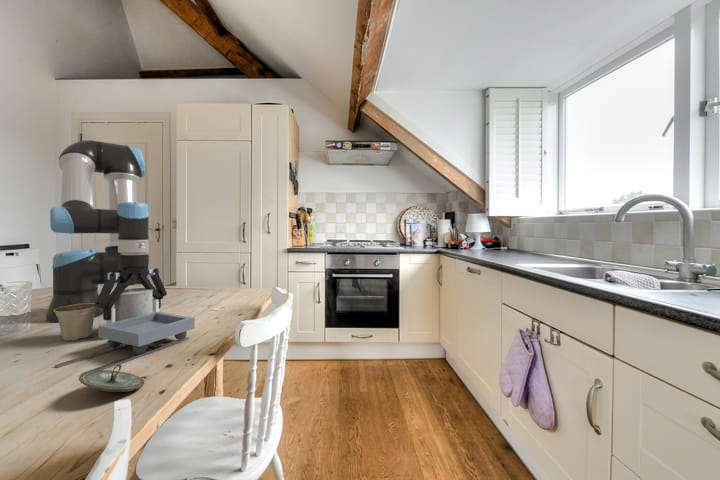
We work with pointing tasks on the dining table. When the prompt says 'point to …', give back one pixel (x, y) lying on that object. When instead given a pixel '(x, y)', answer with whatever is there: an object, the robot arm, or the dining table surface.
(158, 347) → the track
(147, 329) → the cart
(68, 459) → the dining table surface
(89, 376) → the lid
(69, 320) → the flower pot
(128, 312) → the grey canister
